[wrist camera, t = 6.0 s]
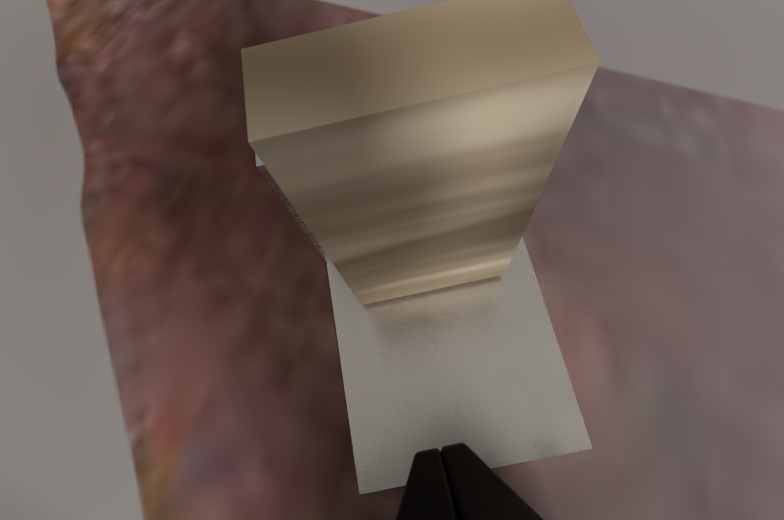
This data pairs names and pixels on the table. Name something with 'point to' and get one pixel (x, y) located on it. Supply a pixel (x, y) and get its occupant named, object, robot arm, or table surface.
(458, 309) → the bearing block
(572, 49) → the shaft carriage
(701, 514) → the table surface
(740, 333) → the table surface
